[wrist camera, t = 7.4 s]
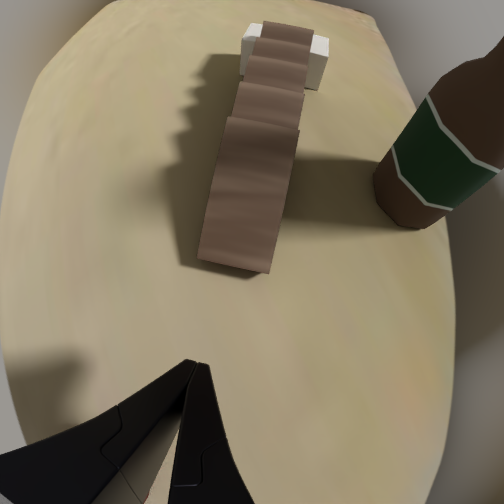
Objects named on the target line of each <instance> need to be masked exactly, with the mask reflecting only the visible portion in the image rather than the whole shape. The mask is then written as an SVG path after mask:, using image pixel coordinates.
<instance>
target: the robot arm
mask: <svg viewBox="0 0 504 504" xmlns="http://www.w3.org/2000/svg"><path fill="white" fill-rule="evenodd" d="M178 429H179V433H178V439H177V445H176V451H175V458H174V464H173V470H172V477H171V484H170V490H169V498H168V504H255V503H254V501H253V499H252V497H251V495H250V493H249V491H248V490H247V488H246V486H245V484H244V482H243V480H242V478H241V476H240V474H239V471H238V469H237V467H236V464H235V462H234V459H233V456H232V453H231V450H230V447H229V443H228V440H227V438H226V433H225V429H224V426H223V422H222V418H221V414H220V410H219V406H218V401H217V397H216V393H215V389H214V384H213V380H212V375H211V371H210V366H209V365H208V364H204V363H200V362H198V363H197V362H196V361H193V360H189V359H185V360H184V361H182V362H181V363H179V364H178V365H176V366H175V367H173V368H172V369H170V370H169V371H168V372H166V373H165V374H163V375H162V376H160V377H159V378H157V379H156V380H154V381H153V382H151V383H150V384H148V385H147V386H145V387H144V388H142V389H141V390H139V391H138V392H136V393H135V394H133V395H131V396H130V397H128V398H127V399H125V400H124V401H122V402H121V403H119V404H118V406H117V405H115V406H114V407H112V408H110V409H109V410H107V411H105V412H104V413H102V414H100V415H99V416H97V417H95V418H93V419H91V420H89V421H86V422H84V423H82V424H80V425H78V426H75V427H73V428H71V429H68V430H66V431H63V432H61V433H58V434H56V435H53V436H51V437H48V438H46V439H43V440H41V441H38V442H35V443H33V444H30V445H27V446H25V447H22V448H19V449H16V450H13V451H10V452H7V453H4V454H1V455H0V504H143V503H144V501H145V499H146V497H147V495H148V493H149V491H150V488H151V486H152V484H153V482H154V480H155V478H156V476H157V474H158V472H159V469H160V467H161V465H162V463H163V461H164V459H165V457H166V455H167V452H168V450H169V448H170V446H171V444H172V442H173V440H174V438H175V435H176V433H177V431H178Z"/></svg>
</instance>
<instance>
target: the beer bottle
mask: <svg viewBox="0 0 504 504" xmlns="http://www.w3.org/2000/svg"><path fill="white" fill-rule="evenodd" d="M503 168H504V37H503V38H502V39H501V41H500V42H499V43H498V44H497V46H496V47H495V48H494V49H493V50H492V51H490V52H489V53H488V54H487V55H486V56H485V57H483V58H479V59H474V60H471V61H466V62H465V63H463V64H461V65H459V66H458V67H456V68H454V69H453V70H451V71H450V72H448V73H447V74H445V75H444V76H442V77H441V78H440V79H439V81H438V82H437V83H436V84H435V86H434V87H433V88H432V89H431V91H430V92H429V93H428V94H427V96H426V97H425V99H424V101H423V102H422V103H421V105H420V106H419V108H418V109H417V111H416V112H415V114H414V115H413V117H412V118H411V120H410V121H409V122H408V124H407V125H406V127H405V128H404V130H403V131H402V133H401V134H400V135H399V137H398V138H397V140H396V141H395V143H394V144H393V145H392V147H391V148H390V150H389V151H388V152H387V154H386V155H385V157H384V158H383V159H382V161H381V162H380V163H379V165H378V167H377V168H376V170H375V172H374V173H373V180H374V186H375V192H376V198H377V203H378V204H379V205H380V206H381V207H382V208H383V209H384V211H385V212H386V213H387V214H388V215H389V216H390V217H391V218H392V219H393V220H394V221H395V222H396V223H397V225H400V226H407V227H414V228H420V229H425V228H427V227H428V226H430V225H432V224H433V223H435V222H437V221H438V220H439V219H441V218H442V217H443V216H445V215H446V214H447V213H449V212H450V211H451V210H453V209H454V208H455V207H456V206H458V205H459V204H460V203H462V202H463V201H464V200H466V199H467V198H468V197H469V196H471V195H472V194H473V193H474V192H476V191H477V190H478V189H479V188H481V187H482V186H483V185H484V184H485V183H487V182H488V181H489V180H490V179H491V178H493V177H494V176H495V175H496V174H497V173H499V172H500V171H501V170H502V169H503Z"/></svg>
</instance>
